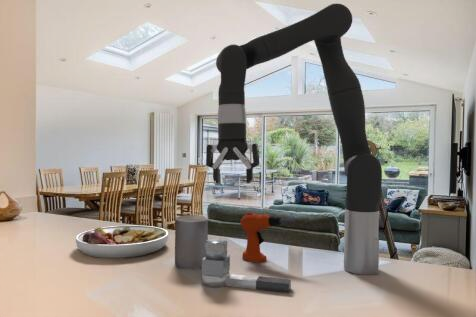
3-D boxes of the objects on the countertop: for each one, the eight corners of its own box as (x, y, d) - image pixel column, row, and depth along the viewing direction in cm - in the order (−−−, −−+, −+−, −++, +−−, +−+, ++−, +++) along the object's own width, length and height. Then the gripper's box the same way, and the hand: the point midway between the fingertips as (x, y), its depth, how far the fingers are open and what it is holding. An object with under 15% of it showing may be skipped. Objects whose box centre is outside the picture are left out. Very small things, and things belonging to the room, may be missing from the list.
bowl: (120, 235, 153) (120, 215, 153) (185, 244, 140) (185, 222, 140) (55, 253, 126) (55, 229, 126) (127, 266, 113) (127, 239, 113)
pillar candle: (174, 259, 119) (174, 211, 119) (205, 258, 121) (206, 210, 121) (175, 270, 110) (175, 217, 109) (210, 268, 112) (210, 216, 111)
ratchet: (291, 285, 98) (292, 262, 98) (287, 295, 91) (287, 270, 91) (207, 276, 104) (207, 254, 104) (197, 285, 97) (197, 261, 97)
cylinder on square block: (229, 270, 102) (229, 239, 101) (223, 277, 96) (223, 245, 96) (209, 268, 103) (209, 238, 103) (201, 275, 98) (202, 243, 98)
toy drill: (297, 264, 111) (291, 211, 112) (239, 262, 120) (234, 213, 121) (303, 260, 115) (297, 209, 116) (247, 258, 125) (242, 211, 125)
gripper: (260, 122, 107) (261, 181, 107) (210, 124, 110) (211, 181, 110) (255, 120, 99) (256, 184, 100) (202, 122, 103) (203, 184, 103)
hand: (232, 182), depth 105 cm, fingers open, 8 cm apart
